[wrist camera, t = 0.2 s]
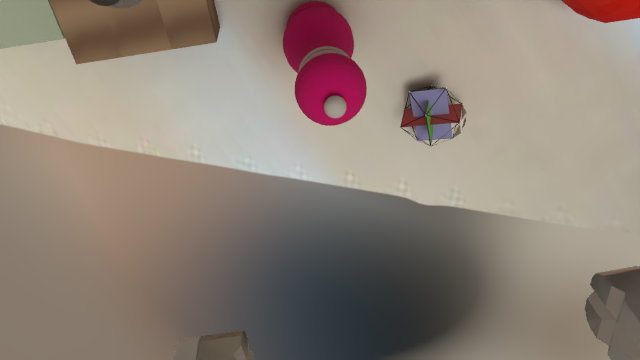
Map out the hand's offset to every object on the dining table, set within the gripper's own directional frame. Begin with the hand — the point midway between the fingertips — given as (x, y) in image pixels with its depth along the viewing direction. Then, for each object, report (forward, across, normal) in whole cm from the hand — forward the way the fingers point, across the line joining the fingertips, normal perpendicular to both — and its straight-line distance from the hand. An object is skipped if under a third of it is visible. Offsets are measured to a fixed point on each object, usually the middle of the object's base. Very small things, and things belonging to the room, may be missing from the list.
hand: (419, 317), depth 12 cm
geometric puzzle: (+47, -12, +19) cm, 53 cm away
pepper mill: (+47, 0, +8) cm, 48 cm away
